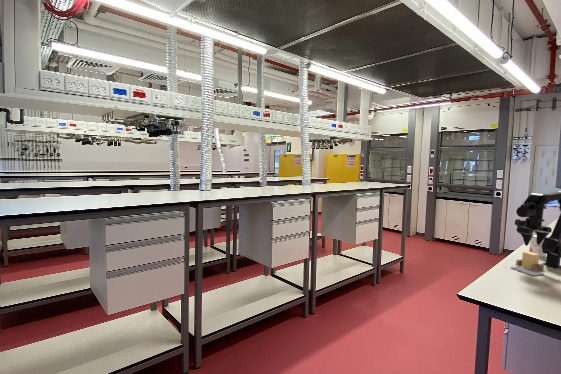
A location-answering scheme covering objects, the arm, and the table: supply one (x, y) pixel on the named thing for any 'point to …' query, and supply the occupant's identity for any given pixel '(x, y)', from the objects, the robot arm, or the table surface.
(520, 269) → the slate pad
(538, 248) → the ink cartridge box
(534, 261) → the ochre block
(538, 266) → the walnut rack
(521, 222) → the robot arm
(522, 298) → the table surface
